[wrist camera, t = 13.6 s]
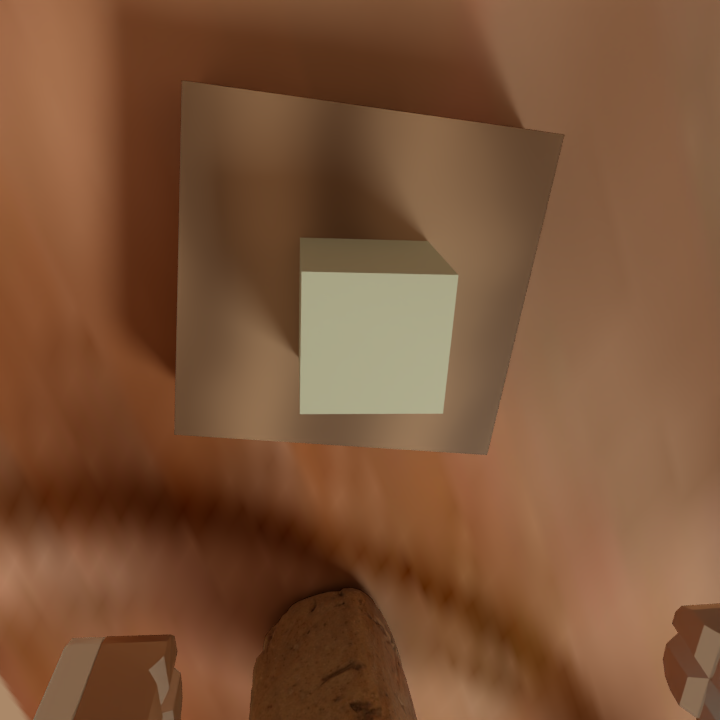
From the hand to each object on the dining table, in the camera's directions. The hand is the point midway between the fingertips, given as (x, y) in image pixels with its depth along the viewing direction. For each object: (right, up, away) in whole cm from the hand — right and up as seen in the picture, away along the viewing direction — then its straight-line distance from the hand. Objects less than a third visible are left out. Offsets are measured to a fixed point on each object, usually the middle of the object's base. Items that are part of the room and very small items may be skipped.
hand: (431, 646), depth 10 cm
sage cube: (-1, +7, +15) cm, 17 cm away
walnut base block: (-2, +9, +20) cm, 22 cm away
